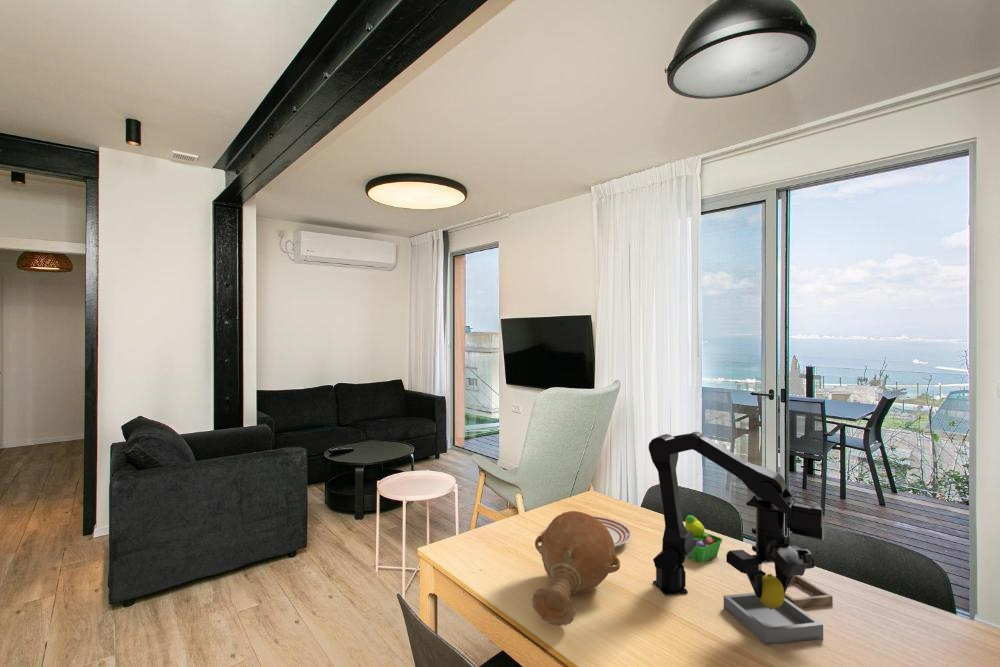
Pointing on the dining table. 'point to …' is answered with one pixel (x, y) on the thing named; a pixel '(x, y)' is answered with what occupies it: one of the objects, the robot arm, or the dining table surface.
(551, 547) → the jug
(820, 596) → the lemon holder
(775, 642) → the tray
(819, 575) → the dining table surface
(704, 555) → the fruit basket
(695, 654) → the dining table surface
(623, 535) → the dinner plate
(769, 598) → the lemon
